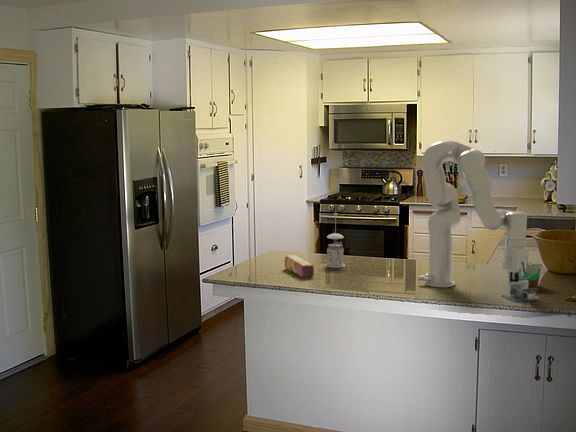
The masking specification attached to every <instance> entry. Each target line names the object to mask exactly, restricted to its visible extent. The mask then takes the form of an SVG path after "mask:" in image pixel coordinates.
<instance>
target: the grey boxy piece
mask: <svg viewBox="0 0 576 432" xmlns="http://www.w3.org/2000/svg"><path fill="white" fill-rule="evenodd" d="M528 282H529V281H527V280H520V281H509V280H508V285H507V286H508V287H507V294H510V295H513V294H516V293H517V291H520V292H522V293H524V298H527V299H533V294H531V293H529V292H527V291H531V292H536V291H538V292H539V288H538V287H534V288H528Z"/></svg>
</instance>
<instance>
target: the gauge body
mask: <svg viewBox="0 0 576 432" xmlns="http://www.w3.org/2000/svg"><path fill="white" fill-rule="evenodd" d="M527 292H529V293H531V294H533V299H527V298H524V293H522V292H520V291H517V293H516V294H513V295H510V294H508V293H502V294H501V297H502V298H504V299H507V300H509V301H512V302H514V303H517V302H518V303H519V302H530V301H532V302H533V301H540V297H539V296H537V295H535V294H534V293H535V291H527Z"/></svg>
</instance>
